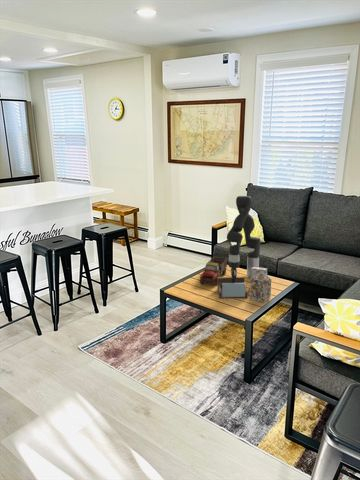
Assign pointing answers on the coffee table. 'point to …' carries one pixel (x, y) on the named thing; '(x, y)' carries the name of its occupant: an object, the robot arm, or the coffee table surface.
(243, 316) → the coffee table surface
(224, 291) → the panel
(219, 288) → the box
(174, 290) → the coffee table surface
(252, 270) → the candy bar box
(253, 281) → the decorative jar
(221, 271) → the toy truck
